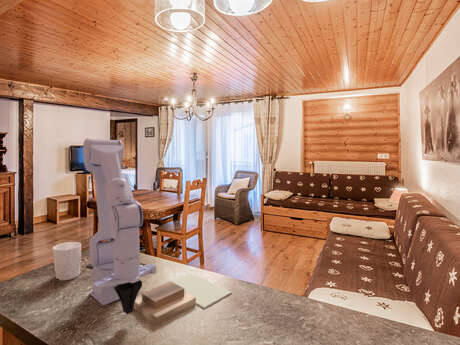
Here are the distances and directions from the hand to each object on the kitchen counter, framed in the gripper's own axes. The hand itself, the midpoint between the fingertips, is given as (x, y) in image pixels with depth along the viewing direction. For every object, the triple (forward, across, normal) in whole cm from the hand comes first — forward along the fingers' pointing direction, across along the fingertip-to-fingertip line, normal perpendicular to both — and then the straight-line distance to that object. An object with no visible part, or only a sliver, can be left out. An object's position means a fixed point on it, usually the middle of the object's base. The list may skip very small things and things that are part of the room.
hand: (127, 311), depth 65 cm
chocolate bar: (+3, +13, +33) cm, 36 cm away
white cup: (+3, -1, +37) cm, 37 cm away
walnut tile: (+1, +10, 0) cm, 10 cm away
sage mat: (+3, +21, 0) cm, 22 cm away
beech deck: (+3, +10, 0) cm, 10 cm away
